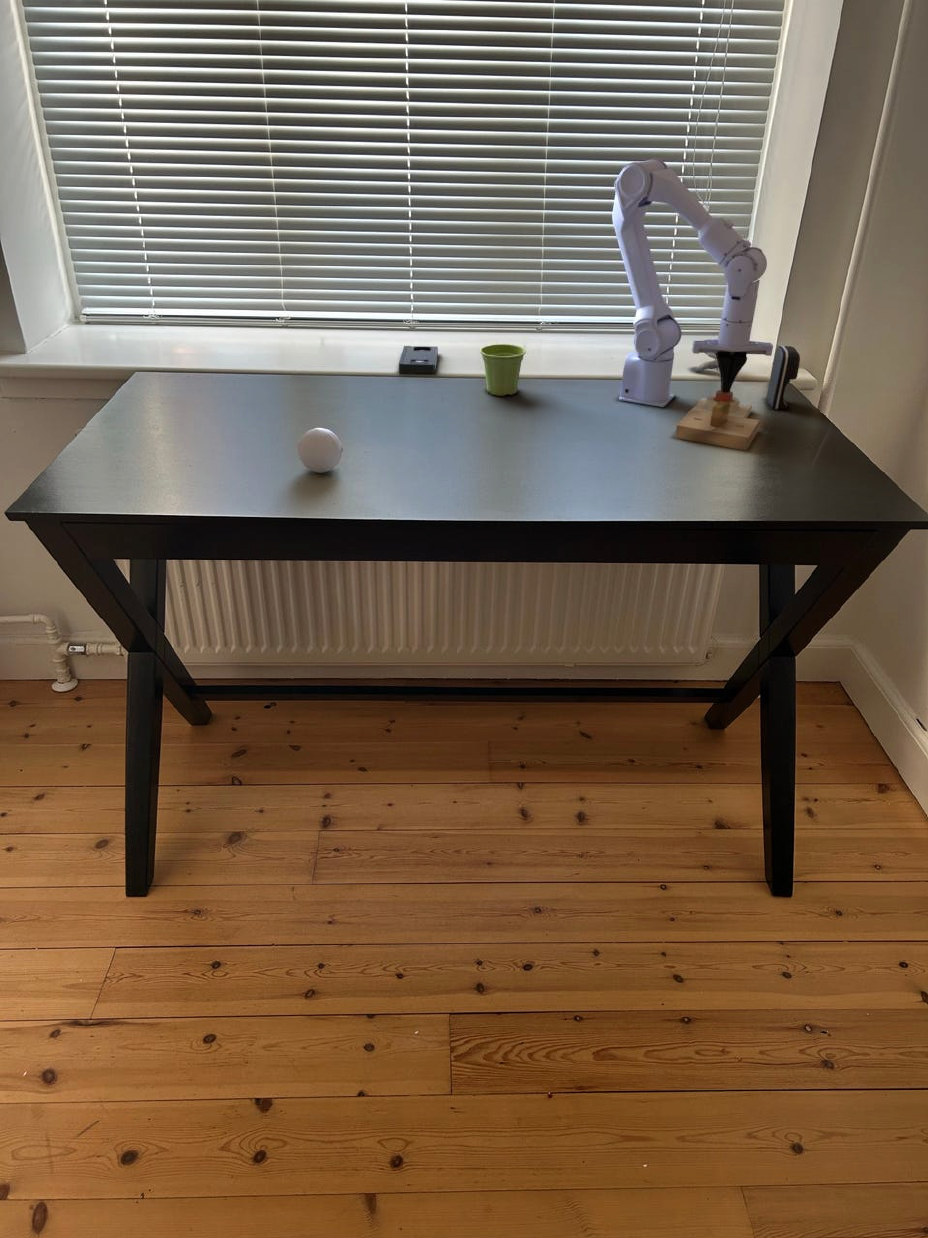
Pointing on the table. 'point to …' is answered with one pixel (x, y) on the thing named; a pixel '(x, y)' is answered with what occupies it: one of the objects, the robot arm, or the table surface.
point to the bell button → (723, 395)
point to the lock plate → (717, 430)
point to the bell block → (734, 409)
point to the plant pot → (502, 367)
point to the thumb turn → (720, 412)
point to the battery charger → (782, 375)
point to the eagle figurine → (708, 363)
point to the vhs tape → (418, 359)
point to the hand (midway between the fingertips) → (725, 390)
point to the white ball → (319, 450)
